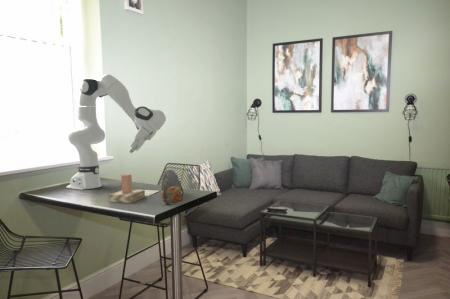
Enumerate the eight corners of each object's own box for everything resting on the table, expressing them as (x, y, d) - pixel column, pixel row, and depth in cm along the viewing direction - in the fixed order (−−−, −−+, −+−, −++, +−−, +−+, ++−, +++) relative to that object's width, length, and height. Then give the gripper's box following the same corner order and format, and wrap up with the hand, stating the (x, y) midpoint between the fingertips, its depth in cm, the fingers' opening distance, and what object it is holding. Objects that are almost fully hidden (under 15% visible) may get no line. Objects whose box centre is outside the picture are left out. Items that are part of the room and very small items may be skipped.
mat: (123, 195, 218) (123, 194, 218) (136, 190, 231) (136, 189, 231) (148, 196, 213) (148, 195, 213) (159, 191, 226) (159, 190, 226)
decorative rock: (168, 198, 208) (167, 172, 206) (158, 197, 211) (157, 171, 209) (185, 192, 222) (184, 167, 220) (176, 191, 225) (175, 167, 223)
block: (122, 193, 205) (121, 175, 204) (126, 191, 209) (125, 174, 208) (128, 193, 204) (127, 175, 203) (132, 191, 208) (131, 174, 207)
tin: (166, 205, 192) (165, 189, 191) (161, 205, 193) (161, 189, 192) (184, 199, 204) (183, 184, 203) (179, 198, 206) (179, 184, 205)
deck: (109, 201, 202) (108, 194, 202) (123, 196, 216) (123, 189, 215) (131, 203, 198) (131, 195, 198) (144, 197, 212) (144, 190, 211)
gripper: (140, 136, 226) (125, 152, 219) (143, 122, 207) (127, 140, 201) (148, 142, 226) (133, 158, 220) (152, 129, 208) (137, 147, 201)
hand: (131, 149), depth 210 cm, fingers open, 8 cm apart
